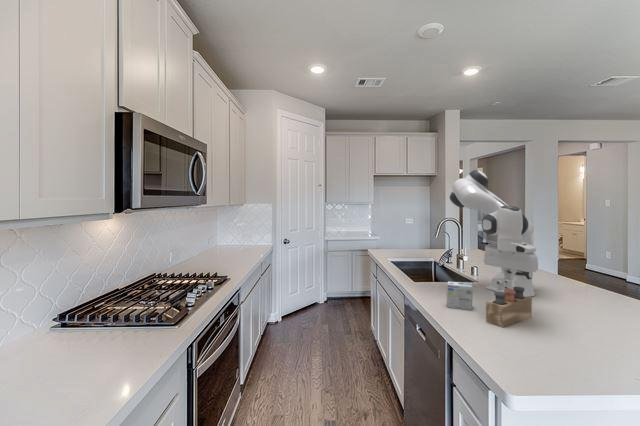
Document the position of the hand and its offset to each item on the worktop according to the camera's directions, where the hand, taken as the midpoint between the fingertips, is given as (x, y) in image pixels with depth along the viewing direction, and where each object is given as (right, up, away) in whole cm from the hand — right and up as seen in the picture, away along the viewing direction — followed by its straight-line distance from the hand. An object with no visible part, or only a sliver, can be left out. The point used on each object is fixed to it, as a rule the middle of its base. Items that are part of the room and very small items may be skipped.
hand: (508, 279), depth 132 cm
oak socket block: (0, -17, +1) cm, 17 cm away
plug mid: (0, -13, 0) cm, 13 cm away
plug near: (-6, -13, -3) cm, 14 cm away
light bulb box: (-13, -16, +16) cm, 27 cm away
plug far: (+6, -12, +4) cm, 14 cm away
